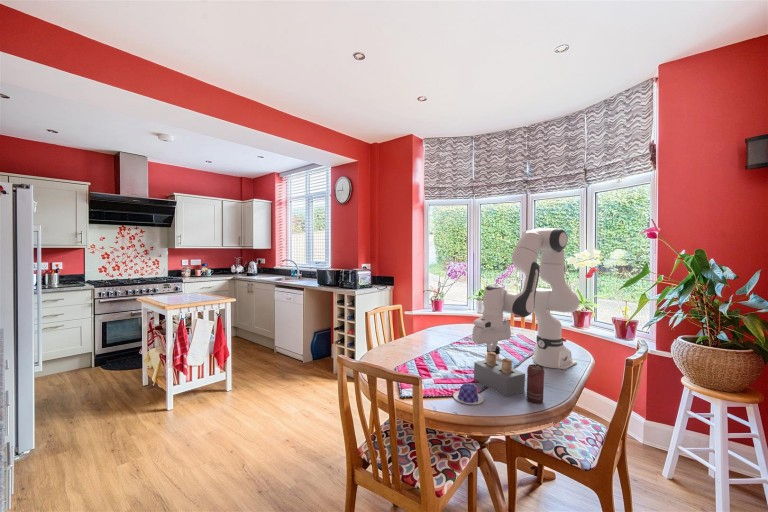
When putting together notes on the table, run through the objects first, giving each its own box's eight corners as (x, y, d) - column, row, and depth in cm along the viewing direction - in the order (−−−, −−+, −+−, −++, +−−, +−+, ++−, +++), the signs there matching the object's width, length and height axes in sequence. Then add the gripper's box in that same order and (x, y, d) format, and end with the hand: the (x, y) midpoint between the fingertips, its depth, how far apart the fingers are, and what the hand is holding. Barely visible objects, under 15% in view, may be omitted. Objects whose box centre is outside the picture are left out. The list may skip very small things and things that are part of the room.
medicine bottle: (501, 372, 161) (502, 348, 160) (485, 371, 162) (486, 347, 161) (499, 367, 168) (499, 344, 167) (484, 366, 169) (485, 343, 168)
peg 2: (506, 374, 145) (506, 357, 145) (513, 378, 142) (514, 360, 141) (499, 376, 144) (500, 359, 143) (506, 379, 140) (507, 362, 140)
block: (491, 375, 158) (492, 358, 158) (524, 391, 141) (525, 373, 140) (473, 379, 153) (474, 362, 153) (505, 397, 136) (506, 378, 136)
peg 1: (491, 367, 153) (491, 351, 153) (497, 370, 150) (498, 354, 149) (484, 368, 152) (485, 352, 151) (491, 371, 148) (491, 355, 148)
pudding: (447, 394, 139) (448, 382, 138) (472, 390, 143) (472, 378, 142) (463, 408, 127) (463, 395, 127) (489, 403, 131) (490, 390, 131)
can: (523, 397, 136) (524, 363, 136) (537, 396, 137) (539, 363, 136) (530, 404, 130) (532, 369, 130) (546, 404, 131) (547, 369, 130)
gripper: (504, 317, 157) (503, 345, 158) (470, 321, 148) (469, 351, 149) (514, 320, 151) (513, 349, 152) (480, 324, 142) (479, 356, 143)
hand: (491, 350), depth 150 cm, fingers closed
